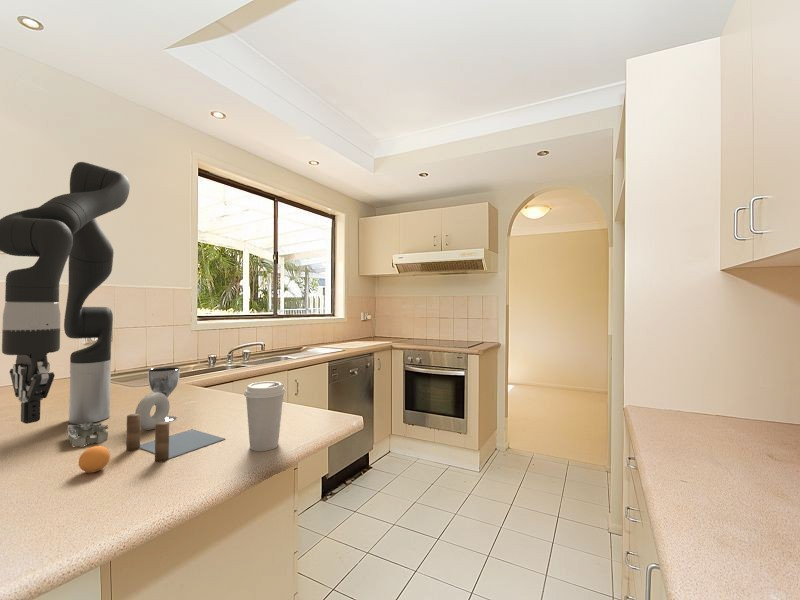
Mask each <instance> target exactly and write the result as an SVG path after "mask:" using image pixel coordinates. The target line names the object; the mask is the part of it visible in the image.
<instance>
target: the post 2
mask: <svg viewBox="0 0 800 600" xmlns="http://www.w3.org/2000/svg"><path fill="white" fill-rule="evenodd" d="M154 430H155V433H154V434H155V435H154V438H155V439H154V440H155V454H154V462H155V463H164V462H167V461H168V460H170V459H169V436H170V422H160V423H157V424H155V429H154Z"/></svg>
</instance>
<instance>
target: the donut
mask: <svg viewBox="0 0 800 600" xmlns="http://www.w3.org/2000/svg"><path fill="white" fill-rule="evenodd" d="M154 406H155V411H154V413H153V415H151V411H152V408H153V407H154ZM170 407H171V405H170V400H169V397H168V398H167V397H166V396H165V395H164V394H162V393H159V392H155V393H154V392H151V393H148V394H146V395H145V396H144V397H143V398H142V399H141V400H140V401H139V403H138V404H137V406H136V409H135V413H134V414H140V429H143V430H147V431H149V430H155V424H157V423H160V422H164V421H165V419H166V418H167V416H169V412H170V409H171V408H170Z"/></svg>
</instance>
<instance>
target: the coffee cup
mask: <svg viewBox="0 0 800 600" xmlns="http://www.w3.org/2000/svg"><path fill="white" fill-rule="evenodd" d="M285 393H286V389H285V387H284V386H283V383H282V382H280V381H271V380H270V381H269V380H267V381H256V382H253V383H250V384H248V385H247V388H246V389H245V390H244V394H243V396H244V397H245V398H246V399H245V400H246V410H247V411H246V413H247V425H248V426H247V427H248V437H249V438H248V439H249V449H250V450H251V451H253V450H254V451H253V452H266V451H270V450H273V449H276V448H277V447H278V446H279V440H280V439H279V438H280V431H281V429H280V427H281V422H282V421H281V420H282V410H283V400H284V394H285ZM275 447H276V448H275Z"/></svg>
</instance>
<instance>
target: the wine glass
mask: <svg viewBox="0 0 800 600" xmlns="http://www.w3.org/2000/svg"><path fill="white" fill-rule="evenodd" d="M180 372H181V371H180V366H179V367H178V366H162V367H161V366H159V367H154V368H153V367H152V368H150V369H148V370H147V380H148V385H149V389H150V390H151V392H152V393H155V392H159V393H162V394H164V395H165V396H166V397H167V398H168V399H169V396H170V395H171V394H172V393H173V392H174V390H175V389H176V388H177V387H178V383H179V380H180ZM176 418H177V419H178V416H176V415H168V416H167V418H166V419H165V421H164V422H169V423H170V422H173V421H175V420H177V419H176Z"/></svg>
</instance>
